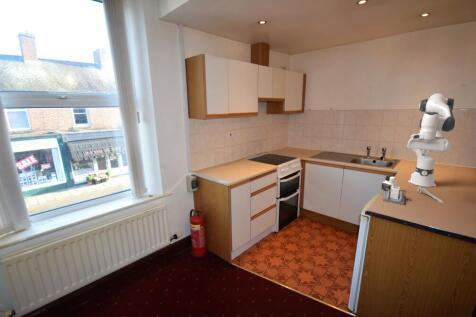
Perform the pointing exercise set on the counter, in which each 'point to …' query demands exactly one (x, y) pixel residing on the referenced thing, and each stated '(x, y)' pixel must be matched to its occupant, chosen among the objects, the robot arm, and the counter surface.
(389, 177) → the medicine bottle
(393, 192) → the din module
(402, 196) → the rail base
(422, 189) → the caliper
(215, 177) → the counter surface
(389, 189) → the din rail
